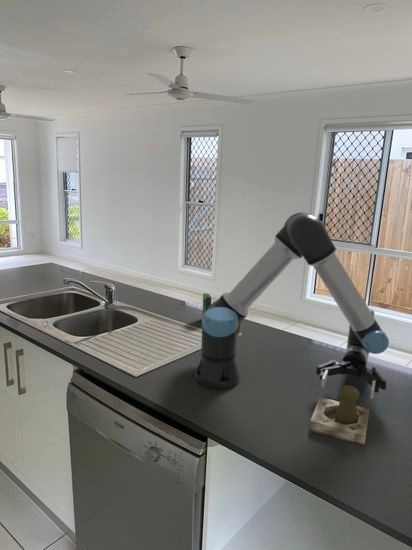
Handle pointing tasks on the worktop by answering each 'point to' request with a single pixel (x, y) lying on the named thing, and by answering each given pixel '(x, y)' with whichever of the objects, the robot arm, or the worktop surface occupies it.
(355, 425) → the holder block
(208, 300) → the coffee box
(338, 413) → the olive green peg
